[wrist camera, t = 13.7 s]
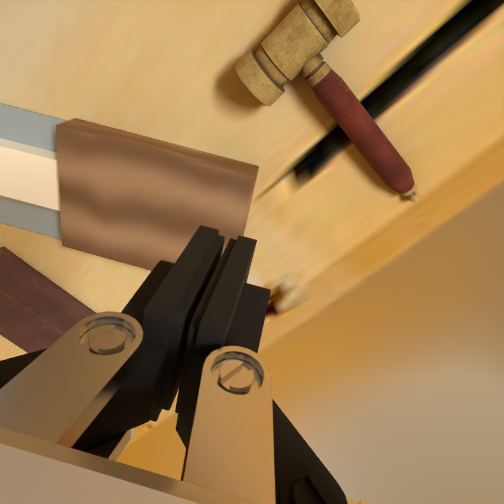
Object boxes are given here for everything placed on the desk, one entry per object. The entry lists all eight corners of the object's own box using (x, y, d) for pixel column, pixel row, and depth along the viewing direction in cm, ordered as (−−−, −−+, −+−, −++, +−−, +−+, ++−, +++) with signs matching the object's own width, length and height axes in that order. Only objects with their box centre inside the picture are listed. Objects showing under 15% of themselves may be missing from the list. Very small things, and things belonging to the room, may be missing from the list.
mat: (-48, 90, 41) (-50, 91, 41) (76, 123, 40) (74, 123, 40) (-25, 214, 49) (-27, 215, 48) (79, 242, 48) (78, 244, 48)
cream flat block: (-3, 137, 42) (-17, 141, 41) (74, 157, 42) (63, 162, 40) (4, 187, 45) (-8, 193, 44) (76, 206, 45) (66, 212, 43)
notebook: (81, 378, 62) (74, 388, 60) (-28, 305, 58) (-39, 313, 56) (127, 331, 55) (120, 341, 53) (6, 244, 51) (-5, 251, 49)
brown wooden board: (75, 118, 40) (55, 124, 37) (259, 166, 39) (253, 176, 36) (79, 232, 47) (62, 245, 44) (234, 275, 46) (227, 291, 43)
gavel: (474, 177, 34) (376, 239, 38) (456, 160, 38) (370, 218, 42) (327, -36, 27) (229, 69, 31) (324, -30, 31) (237, 63, 35)
